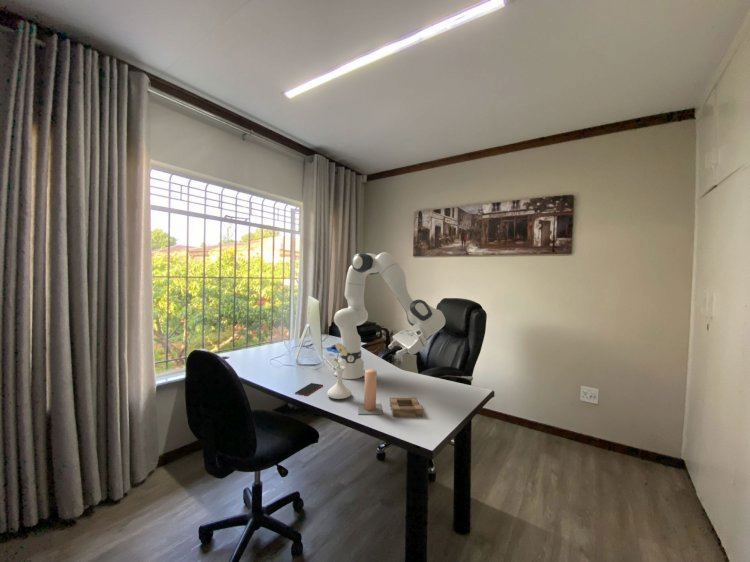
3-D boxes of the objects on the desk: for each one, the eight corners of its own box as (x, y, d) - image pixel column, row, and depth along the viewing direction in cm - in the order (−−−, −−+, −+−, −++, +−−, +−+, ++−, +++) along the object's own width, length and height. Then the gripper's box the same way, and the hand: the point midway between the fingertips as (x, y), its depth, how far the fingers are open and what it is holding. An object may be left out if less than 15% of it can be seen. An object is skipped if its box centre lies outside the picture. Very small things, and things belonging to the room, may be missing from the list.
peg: (363, 406, 131) (364, 369, 131) (375, 405, 131) (376, 369, 131) (364, 411, 126) (365, 372, 126) (376, 410, 126) (377, 372, 126)
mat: (358, 404, 133) (358, 403, 133) (380, 404, 134) (380, 403, 134) (358, 414, 123) (358, 413, 123) (382, 414, 124) (382, 413, 124)
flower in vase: (354, 399, 138) (355, 345, 138) (330, 402, 134) (331, 346, 134) (346, 389, 151) (347, 339, 150) (323, 392, 146) (325, 341, 146)
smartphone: (294, 393, 144) (311, 382, 158) (294, 394, 144) (311, 384, 158) (307, 395, 141) (323, 384, 155) (307, 397, 141) (323, 386, 155)
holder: (389, 404, 134) (389, 397, 134) (416, 404, 135) (416, 397, 135) (393, 416, 122) (393, 409, 122) (422, 416, 123) (422, 409, 123)
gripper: (404, 323, 151) (382, 339, 148) (423, 335, 132) (398, 353, 129) (410, 333, 152) (387, 349, 149) (429, 346, 133) (404, 364, 130)
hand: (392, 351), depth 139 cm, fingers open, 8 cm apart
